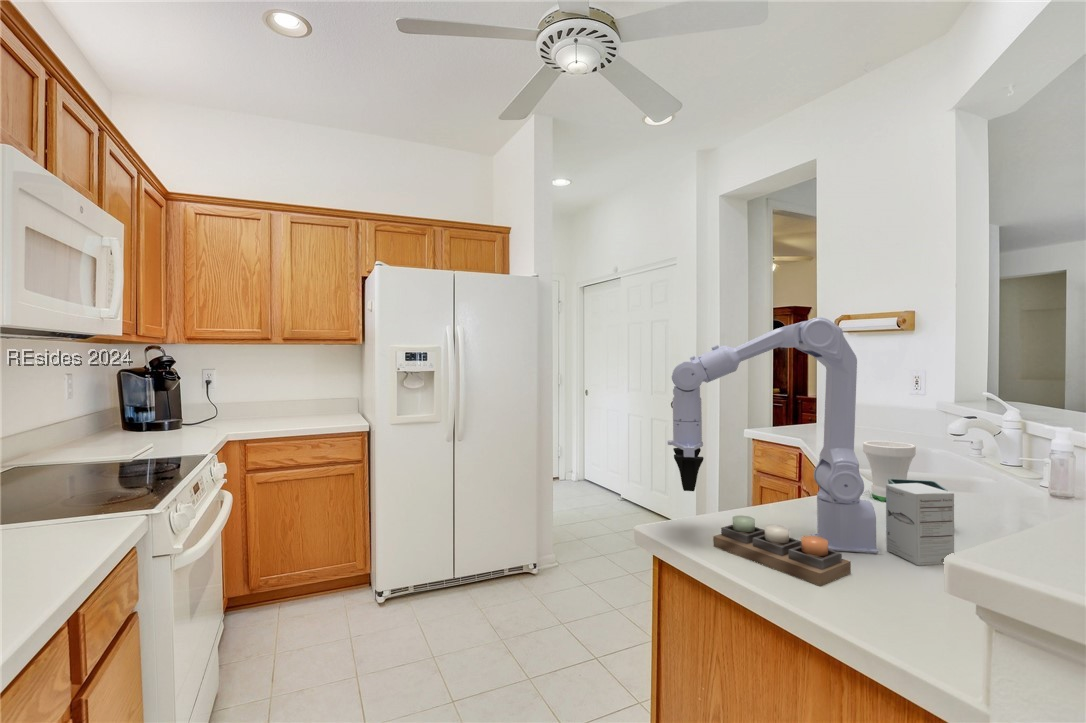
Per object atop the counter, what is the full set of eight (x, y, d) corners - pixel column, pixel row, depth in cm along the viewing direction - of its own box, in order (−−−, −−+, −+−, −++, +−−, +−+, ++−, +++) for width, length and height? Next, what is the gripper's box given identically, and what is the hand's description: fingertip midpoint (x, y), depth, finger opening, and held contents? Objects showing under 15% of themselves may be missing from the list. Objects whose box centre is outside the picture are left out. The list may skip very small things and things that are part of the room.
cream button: (760, 538, 93) (760, 527, 93) (773, 534, 95) (773, 523, 95) (780, 544, 90) (780, 533, 90) (793, 540, 92) (793, 529, 92)
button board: (713, 546, 99) (713, 528, 99) (743, 537, 104) (743, 520, 104) (820, 586, 81) (819, 564, 81) (850, 573, 86) (850, 552, 86)
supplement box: (884, 550, 96) (883, 483, 96) (921, 549, 96) (920, 482, 96) (916, 566, 88) (915, 493, 88) (956, 564, 89) (955, 491, 89)
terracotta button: (796, 550, 87) (796, 538, 87) (810, 545, 89) (809, 534, 89) (819, 557, 84) (819, 545, 84) (833, 552, 86) (833, 540, 86)
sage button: (728, 528, 99) (728, 517, 99) (741, 524, 101) (741, 514, 101) (745, 533, 96) (745, 523, 96) (759, 529, 98) (759, 519, 98)
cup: (917, 507, 123) (917, 448, 123) (863, 501, 129) (862, 445, 129) (914, 497, 132) (914, 442, 132) (864, 491, 138) (863, 439, 138)
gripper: (667, 416, 114) (668, 477, 114) (667, 424, 100) (668, 493, 99) (700, 416, 112) (701, 478, 112) (705, 424, 98) (706, 495, 98)
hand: (688, 486), depth 106 cm, fingers open, 7 cm apart
